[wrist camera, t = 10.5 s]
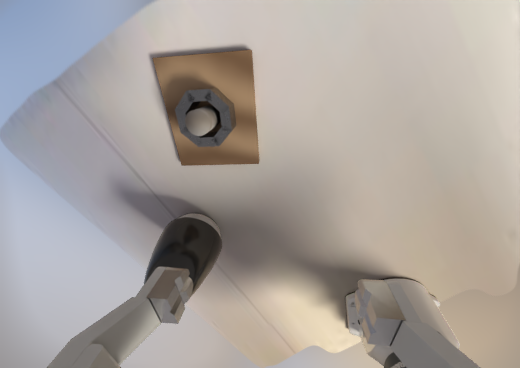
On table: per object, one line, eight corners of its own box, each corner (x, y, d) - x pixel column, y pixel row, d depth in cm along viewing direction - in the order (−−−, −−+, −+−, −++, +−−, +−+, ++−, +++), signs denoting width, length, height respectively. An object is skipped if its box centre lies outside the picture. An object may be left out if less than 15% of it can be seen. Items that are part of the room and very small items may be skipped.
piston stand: (259, 161, 29) (255, 178, 24) (184, 163, 30) (164, 180, 25) (251, 51, 23) (244, 41, 17) (157, 58, 24) (123, 52, 19)
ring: (238, 139, 27) (233, 145, 24) (193, 141, 28) (184, 147, 25) (232, 87, 24) (226, 87, 21) (181, 90, 24) (170, 91, 22)
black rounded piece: (237, 221, 35) (212, 306, 22) (213, 253, 40) (180, 339, 26) (186, 194, 33) (125, 269, 20) (167, 230, 38) (107, 312, 24)
